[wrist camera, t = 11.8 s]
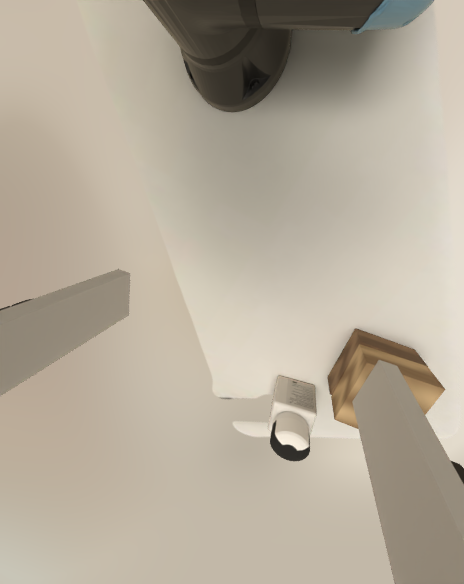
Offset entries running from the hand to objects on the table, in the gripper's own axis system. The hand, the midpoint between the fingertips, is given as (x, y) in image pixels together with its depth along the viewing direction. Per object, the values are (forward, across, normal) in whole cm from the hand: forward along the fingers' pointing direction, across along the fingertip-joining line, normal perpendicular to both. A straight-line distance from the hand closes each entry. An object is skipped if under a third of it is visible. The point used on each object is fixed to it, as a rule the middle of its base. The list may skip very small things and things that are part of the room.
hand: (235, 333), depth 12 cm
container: (+30, +12, -30) cm, 45 cm away
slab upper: (+26, +22, -18) cm, 38 cm away
